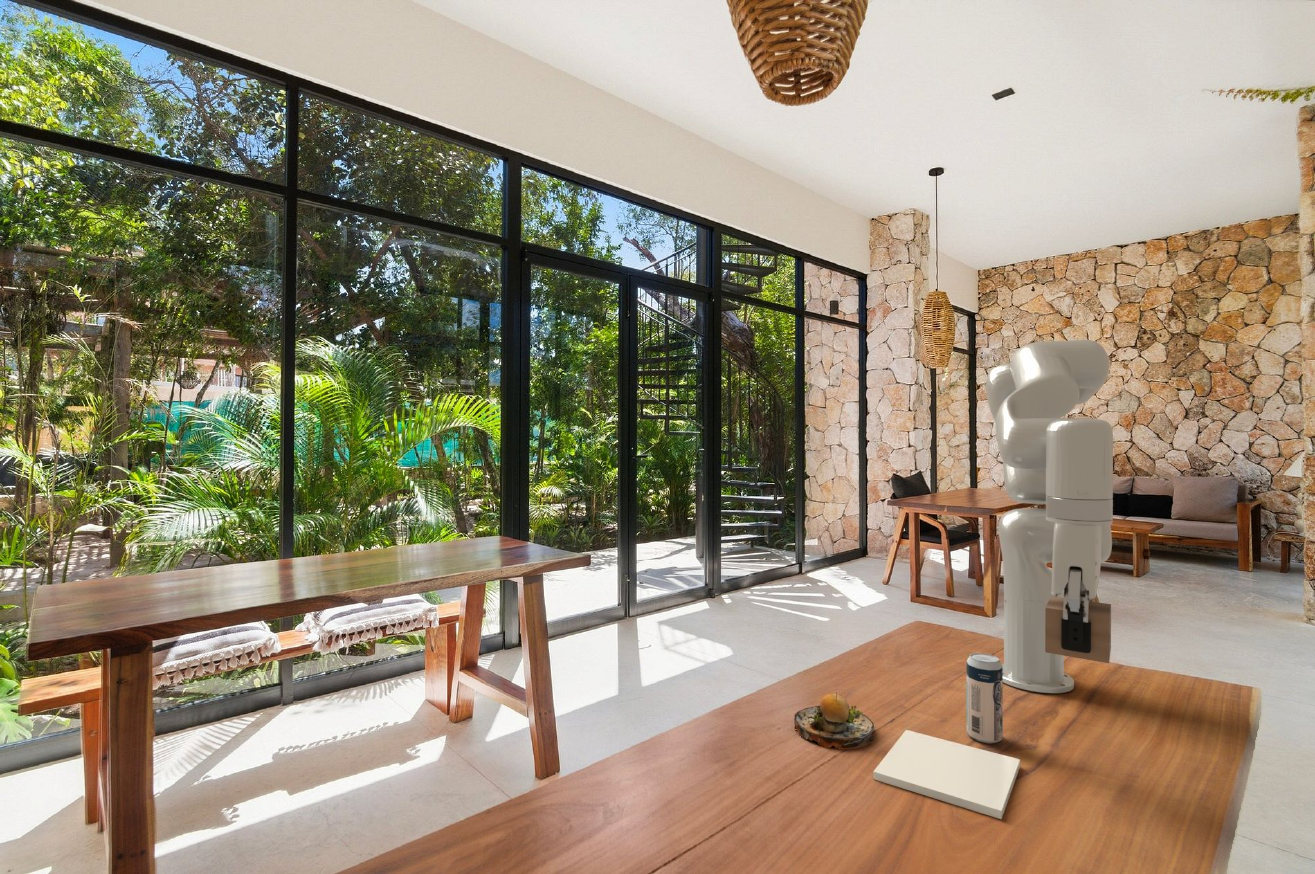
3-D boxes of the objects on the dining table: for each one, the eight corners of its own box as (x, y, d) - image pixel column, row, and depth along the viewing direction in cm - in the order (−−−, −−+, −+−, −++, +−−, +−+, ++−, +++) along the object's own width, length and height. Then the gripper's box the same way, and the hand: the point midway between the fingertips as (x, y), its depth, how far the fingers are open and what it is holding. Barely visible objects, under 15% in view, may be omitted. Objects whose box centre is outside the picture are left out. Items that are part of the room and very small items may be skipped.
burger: (878, 724, 102) (878, 676, 102) (869, 757, 91) (869, 704, 91) (802, 710, 107) (802, 665, 107) (785, 741, 96) (785, 690, 96)
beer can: (1007, 746, 94) (1007, 664, 94) (971, 743, 94) (971, 661, 94) (996, 731, 98) (996, 653, 98) (962, 729, 99) (962, 651, 99)
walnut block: (1050, 638, 92) (1050, 596, 92) (1110, 648, 88) (1111, 604, 88) (1045, 652, 86) (1045, 607, 86) (1109, 663, 82) (1109, 616, 82)
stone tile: (906, 736, 97) (906, 729, 97) (1019, 766, 88) (1020, 759, 88) (873, 779, 85) (873, 771, 85) (1001, 819, 76) (1001, 810, 76)
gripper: (1052, 502, 96) (1052, 622, 96) (1038, 516, 82) (1038, 655, 82) (1114, 506, 92) (1114, 631, 92) (1110, 520, 78) (1110, 668, 78)
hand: (1078, 641), depth 87 cm, fingers closed on walnut block, 7 cm apart
